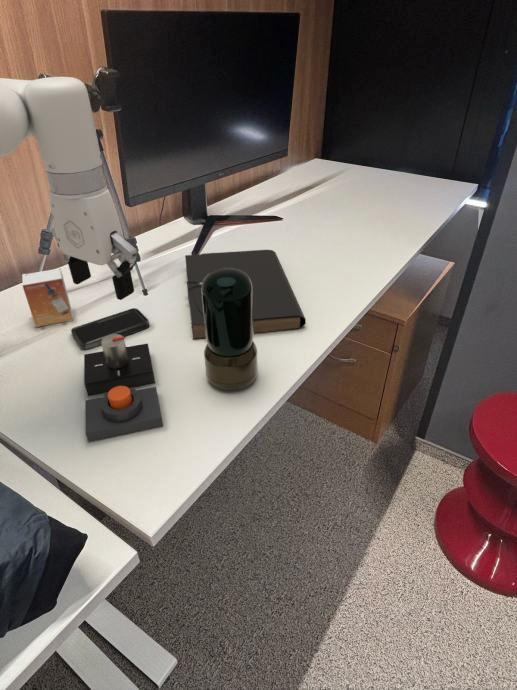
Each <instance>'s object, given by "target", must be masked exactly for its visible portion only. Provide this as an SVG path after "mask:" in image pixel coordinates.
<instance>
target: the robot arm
mask: <svg viewBox="0 0 517 690" xmlns="http://www.w3.org/2000/svg"><path fill="white" fill-rule="evenodd" d="M93 115H94V114H93V110H92V105H91V102H90V96H89V93H88V89H87V86H86V85H85V83H84V82H83V81H82V80H80V79H79V78H76V77H71V76H48V77H41V78H36V79H31V80H30V79H15V78H5V77H0V159H1V158H4V157H8V156H11V154H13V153H14V152H16V151H17V149H18V148H19V147H20V146H21V144H22V143H23V141H24V140H27V139H28V138H30V137H34V138H35V139H36V141H37V144H38V148H39V152H40V155H41V159H42V162H43V167H44V170H45V174H46V179H47V182H48V185H49V189H48V197H49V206H50V215H51V219H52V224H53V228H51V229H50V232H51V234H52V236H53V237H54V239H55V241H56V242H57V243H56V244H57V247H58V248H59V251H61V252H62V253H63V259H64V260H65V261H66V262H67V265H68V269H69V272H70V276H71V279H72V282H73V284H74V285H79V284H82V283H83V282H86V281H87V280H89V279H91V278H92V274H91V270H90V266H89V263H90V264H94V265H97V266H104V265H107V266H108V268H109V270H110V271H111V272H112V273H113V276H111V279H112V283H113V289H114V293H115V297H116V299H117V300H119V301H122V300H124V299H126V298H127V297H129V296H131V295H132V294H133V293H134V292H135V288H134V282H133V276H132V272H131V271H133V270H134V267H135V266H136V264H137V258H138V253H139V252H138V249H137V248H135V246H133V245H132V244H131V243H129V242H128V241H127V240H126V239H125V237H124V233H123V229H122V225H121V221H120V218H119V214H118V210H117V208H116V205H115V201H114V199H113V196H112V194H111V191H110V189H109V188H108V182H107V179H106V174H105V169H104V164H103V160H102V159H103V158H102V153H101V150H100V144H99V139H98V135H97V131H96V130H97V129H96V125H95V119H94V116H93ZM117 259H118V261H119V262H120V265H119V266H118V264H117V263H116V262H115V260H117Z"/></svg>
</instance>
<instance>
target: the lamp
mask: <svg viewBox="0 0 517 690" xmlns="http://www.w3.org/2000/svg"><path fill="white" fill-rule="evenodd" d="M201 292H202V303H203V314H204V325H205V335H206V338H205V339H206V344H205V347H204V349H203V358H204V367H205V376H206V379H207V380H208V382H209V383H210V384H211V385H212V386H214V387H215V388H217V389H220V390H224V391H237V390H241V389H244V388H246V387H248V386H249V385H251V384H253V382H254V381H255V379H256V378H257V376H258V348H257V345H256V344H255V342H254V334H255V333H254V325H253V286H252V282H251V280H250V278H249V277H248V275H247V274H246V273H244V272H243V271H241V270H239V269H236V268H231V267H224V268H219V269H216V270H213V271H212V272H210V273H209V274H208V275H207V276H206V277H205V278H204V280H203V282H202V287H201Z"/></svg>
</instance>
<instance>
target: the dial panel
mask: <svg viewBox="0 0 517 690" xmlns="http://www.w3.org/2000/svg"><path fill="white" fill-rule="evenodd" d="M126 350H127V355H128V359H129V361H128V363H127V365H125V366H124V367H122V368H118V369H112V368H109V367H108V366H107V364H106V360H105V356H104V352H103V350H102V351H96V352H90V353H85V354H84V355H83V356H84V357H83V378H84V379H83V381H84V382H83V383H84V387H85V390H86V394H87V397H91V396H97V395H102V394H107V393H108V392H109V391H110V390H111V389H112V388H114V387H117V386H126V387H128V388H133V389H135V388H138V387H143V386H149V385H153V384H154V385H155V384H156V380H155V379H156V378H155V373H154V368H153V363H152V358H151V353H150V346H149V343H141V344H136V345H130V346H126Z"/></svg>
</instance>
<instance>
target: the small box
mask: <svg viewBox="0 0 517 690" xmlns="http://www.w3.org/2000/svg"><path fill="white" fill-rule="evenodd" d="M21 277H22V279H21V280H22V288H23V289H22V290H23V293H24V295H25V298H26V302H27V304H28V307H29V310H30V314H31V317H32V321H33V323H34V326H35V328H39V327H43V326H48V325H53V324H54V325H55V324H59V323H66V322H71V321H74V315H73V309H72V305H71V301H70V298H69V294H68V290H67V286H66V283H65V279H64V274H63V271H62V268H61V267H58V268H53V269H48V270H42V271H36V272H30V273H22V275H21Z"/></svg>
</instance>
